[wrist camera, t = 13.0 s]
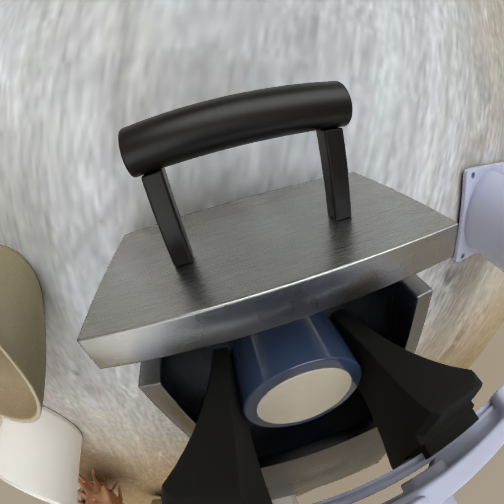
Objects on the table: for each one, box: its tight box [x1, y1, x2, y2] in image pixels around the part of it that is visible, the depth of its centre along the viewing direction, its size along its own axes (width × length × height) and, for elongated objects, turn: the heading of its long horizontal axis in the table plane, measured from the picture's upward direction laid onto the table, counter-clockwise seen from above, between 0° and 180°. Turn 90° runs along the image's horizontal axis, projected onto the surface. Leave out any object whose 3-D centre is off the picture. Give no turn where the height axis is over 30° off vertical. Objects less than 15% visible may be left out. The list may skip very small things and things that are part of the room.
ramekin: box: [228, 311, 362, 427], centre depth 11 cm, size 5×5×5 cm
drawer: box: [77, 81, 458, 458], centre depth 11 cm, size 18×11×7 cm, turn 13°
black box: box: [258, 417, 386, 500], centre depth 17 cm, size 14×12×8 cm
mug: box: [0, 406, 83, 504], centre depth 14 cm, size 13×10×10 cm
